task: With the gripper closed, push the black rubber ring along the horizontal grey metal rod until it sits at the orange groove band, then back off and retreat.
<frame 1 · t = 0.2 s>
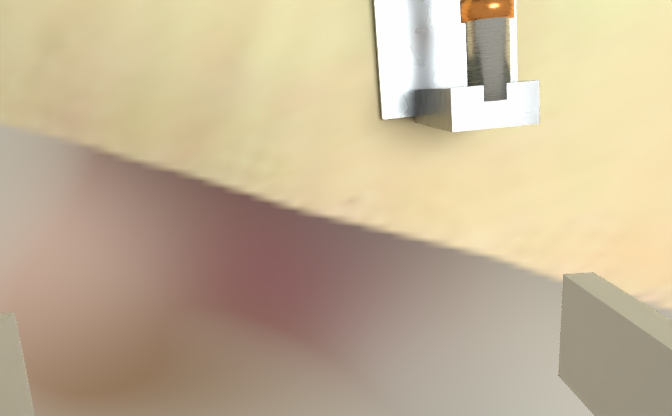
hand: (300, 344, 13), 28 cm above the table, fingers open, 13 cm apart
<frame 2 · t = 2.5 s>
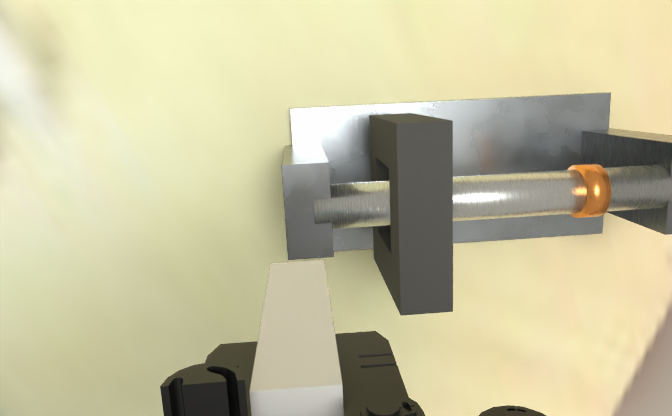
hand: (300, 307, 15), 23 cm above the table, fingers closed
ring: (406, 201, 29), point 9 cm above the table, slide at 0.0 cm
pipe rig: (450, 172, 38), on the table
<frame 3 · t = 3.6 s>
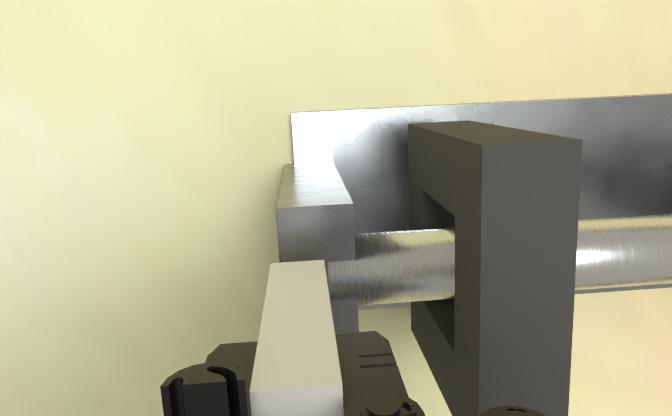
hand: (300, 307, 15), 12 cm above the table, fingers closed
ring: (472, 261, 18), point 9 cm above the table, slide at 0.0 cm
pipe rig: (512, 200, 27), on the table
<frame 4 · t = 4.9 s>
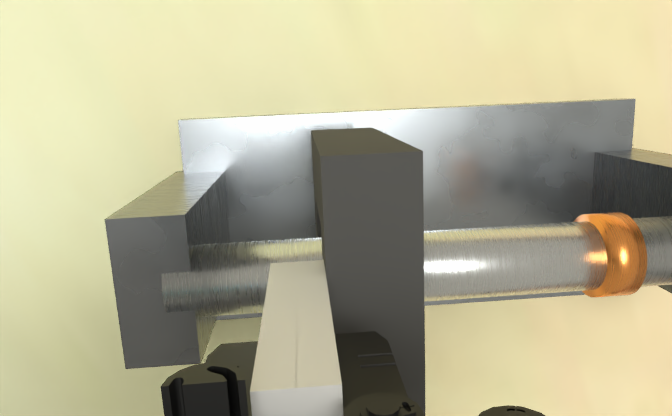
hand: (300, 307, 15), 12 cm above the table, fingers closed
ring: (357, 270, 18), point 9 cm above the table, slide at 1.3 cm, touching gripper
pipe rig: (410, 208, 27), on the table
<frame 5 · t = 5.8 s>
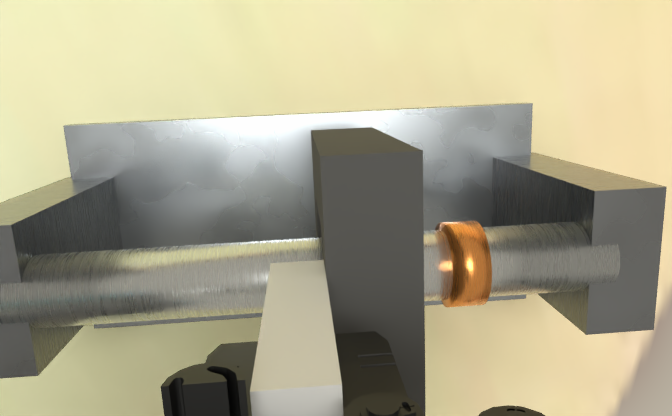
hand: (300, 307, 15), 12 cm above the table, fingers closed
ring: (357, 270, 18), point 9 cm above the table, slide at 6.5 cm, touching gripper
pipe rig: (309, 214, 27), on the table
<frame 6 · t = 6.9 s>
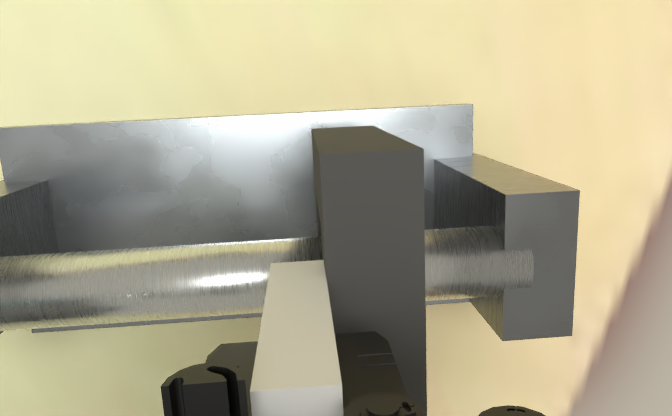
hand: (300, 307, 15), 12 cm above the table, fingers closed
ring: (358, 269, 18), point 9 cm above the table, slide at 9.5 cm, touching gripper
pipe rig: (250, 216, 27), on the table
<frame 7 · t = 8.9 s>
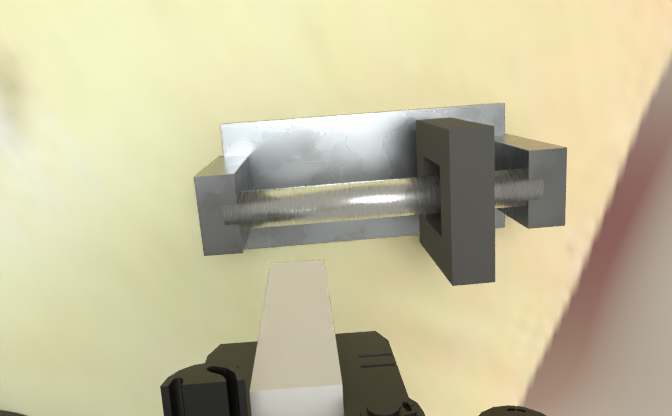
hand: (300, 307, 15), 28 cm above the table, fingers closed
ring: (451, 193, 34), point 9 cm above the table, slide at 9.5 cm
pipe rig: (366, 176, 43), on the table
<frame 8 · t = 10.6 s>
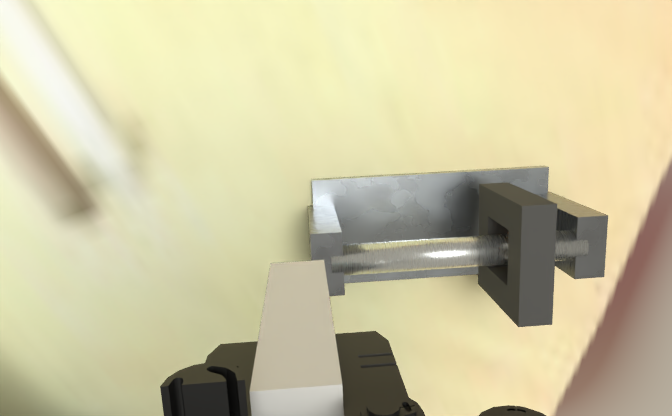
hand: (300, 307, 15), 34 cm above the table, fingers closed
ring: (512, 248, 42), point 9 cm above the table, slide at 9.5 cm
pipe rig: (430, 224, 51), on the table
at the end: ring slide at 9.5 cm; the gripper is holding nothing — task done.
